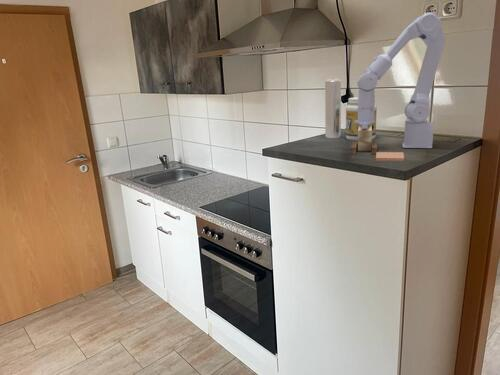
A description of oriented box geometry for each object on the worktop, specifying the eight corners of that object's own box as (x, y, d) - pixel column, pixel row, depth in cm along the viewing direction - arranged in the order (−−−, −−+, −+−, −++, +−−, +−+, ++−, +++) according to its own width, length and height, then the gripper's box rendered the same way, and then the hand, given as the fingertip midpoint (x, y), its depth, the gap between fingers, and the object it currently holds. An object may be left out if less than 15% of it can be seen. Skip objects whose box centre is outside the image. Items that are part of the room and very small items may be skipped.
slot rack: (377, 147, 143) (377, 140, 142) (376, 155, 130) (376, 147, 130) (353, 147, 146) (353, 140, 145) (350, 154, 133) (350, 147, 132)
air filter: (333, 139, 166) (333, 78, 159) (322, 137, 171) (322, 79, 164) (343, 136, 169) (344, 77, 162) (332, 135, 174) (332, 78, 167)
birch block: (371, 145, 141) (371, 125, 136) (370, 151, 137) (371, 130, 133) (358, 145, 142) (358, 125, 138) (357, 151, 138) (357, 130, 134)
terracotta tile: (403, 155, 127) (403, 152, 127) (404, 161, 119) (404, 158, 119) (376, 155, 130) (376, 152, 130) (375, 160, 122) (375, 157, 122)
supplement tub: (341, 137, 168) (342, 98, 163) (368, 135, 169) (369, 96, 164) (351, 142, 156) (352, 99, 151) (380, 140, 157) (382, 97, 152)
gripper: (356, 106, 146) (355, 142, 150) (352, 110, 133) (352, 149, 137) (375, 106, 144) (374, 142, 148) (374, 110, 131) (373, 149, 135)
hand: (365, 145), depth 142 cm, fingers closed
